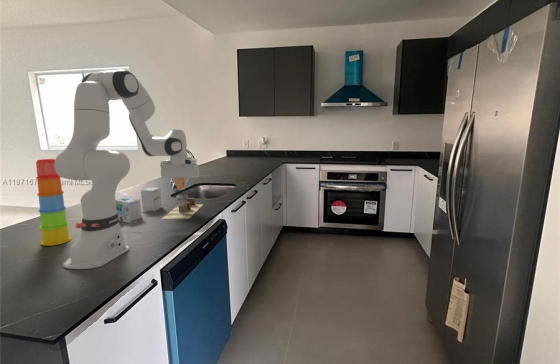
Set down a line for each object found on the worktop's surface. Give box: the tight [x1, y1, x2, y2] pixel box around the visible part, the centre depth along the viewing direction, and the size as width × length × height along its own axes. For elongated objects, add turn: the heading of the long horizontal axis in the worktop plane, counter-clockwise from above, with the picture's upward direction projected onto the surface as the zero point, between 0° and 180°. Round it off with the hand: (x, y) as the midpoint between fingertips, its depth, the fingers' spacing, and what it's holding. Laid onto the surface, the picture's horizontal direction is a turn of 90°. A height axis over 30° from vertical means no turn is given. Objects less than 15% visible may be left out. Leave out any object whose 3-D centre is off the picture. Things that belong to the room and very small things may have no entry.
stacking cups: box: [35, 158, 72, 247], centre depth 122 cm, size 10×10×35 cm
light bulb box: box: [115, 196, 143, 224], centre depth 151 cm, size 11×7×11 cm, turn 62°
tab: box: [176, 178, 187, 191], centre depth 162 cm, size 5×3×6 cm, turn 177°
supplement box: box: [140, 187, 163, 214], centre depth 165 cm, size 7×7×13 cm
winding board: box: [161, 194, 205, 220], centre depth 161 cm, size 26×14×10 cm, turn 178°
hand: (181, 185), depth 163 cm, fingers closed on tab, 3 cm apart
